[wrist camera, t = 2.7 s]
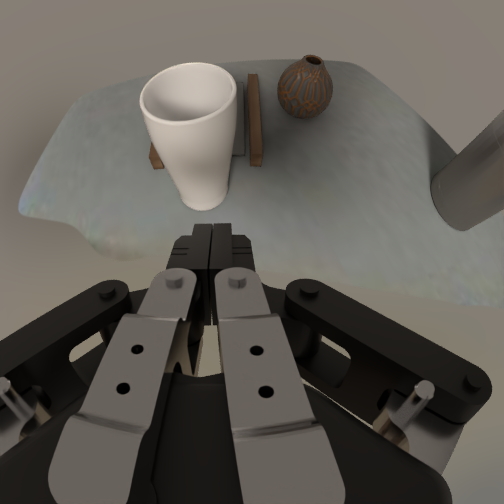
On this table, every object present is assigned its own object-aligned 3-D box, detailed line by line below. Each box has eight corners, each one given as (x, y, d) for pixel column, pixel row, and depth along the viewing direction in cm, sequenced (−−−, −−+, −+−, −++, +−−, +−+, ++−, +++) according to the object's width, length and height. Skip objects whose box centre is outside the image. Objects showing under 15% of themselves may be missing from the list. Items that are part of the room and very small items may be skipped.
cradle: (255, 84, 36) (257, 72, 34) (260, 166, 32) (262, 154, 30) (169, 87, 35) (166, 75, 33) (153, 169, 31) (148, 157, 29)
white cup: (172, 221, 30) (130, 131, 15) (174, 167, 32) (145, 67, 17) (236, 217, 30) (241, 120, 16) (232, 163, 32) (235, 58, 18)
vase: (330, 126, 35) (351, 80, 27) (280, 127, 34) (292, 76, 26) (316, 92, 37) (331, 47, 28) (270, 91, 36) (278, 43, 28)
